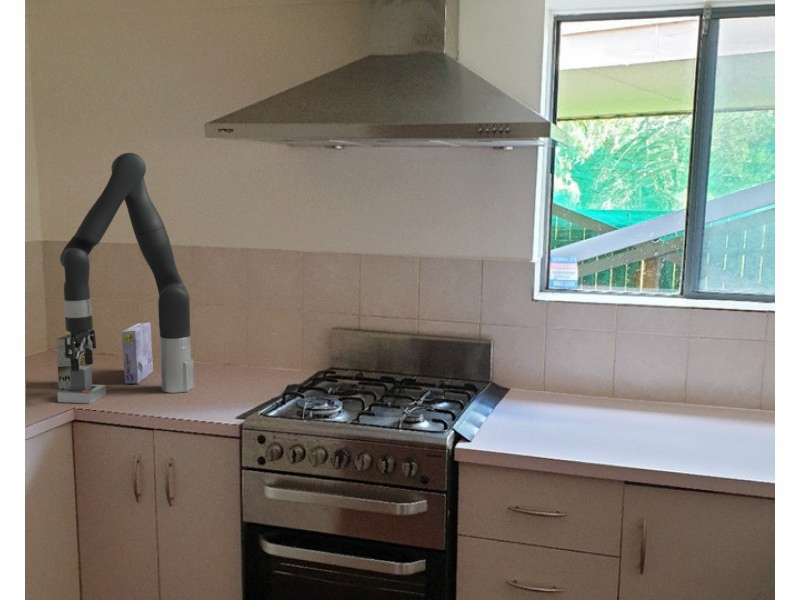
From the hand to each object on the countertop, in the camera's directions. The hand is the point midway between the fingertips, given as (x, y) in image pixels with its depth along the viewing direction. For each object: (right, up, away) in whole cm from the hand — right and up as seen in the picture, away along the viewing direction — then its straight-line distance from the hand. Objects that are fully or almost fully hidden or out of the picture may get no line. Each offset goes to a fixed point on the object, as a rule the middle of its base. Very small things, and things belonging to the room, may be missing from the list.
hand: (82, 367), depth 231 cm
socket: (-1, -9, +2) cm, 10 cm away
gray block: (-1, -9, +2) cm, 10 cm away
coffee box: (-9, -7, +16) cm, 20 cm away
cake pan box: (+8, -6, +28) cm, 29 cm away
